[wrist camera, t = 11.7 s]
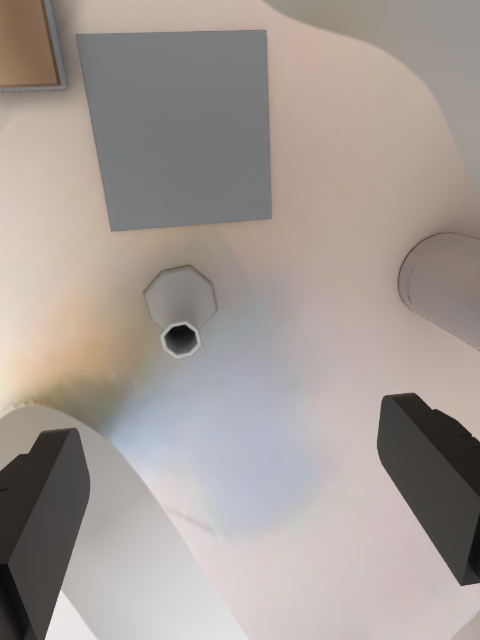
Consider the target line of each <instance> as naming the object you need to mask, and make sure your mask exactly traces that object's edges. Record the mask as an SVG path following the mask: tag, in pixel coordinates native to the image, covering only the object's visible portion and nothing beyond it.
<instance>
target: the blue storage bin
mask: <svg viewBox="0 0 480 640" xmlns="http://www.w3.org/2000/svg"><path fill="white" fill-rule="evenodd" d="M44 1H45V6H46V11H47V16H48V21H49V26H50V31H51V36H52V41H53V46H54V51H55V56H56V61H57V66H58V71H59V76H60V81H61V86H54V87H27V88H1V89H0V92H4V91H30V90H56V89H68V87H67V82H66V77H65V72H64V66H63V61H62V56H61V51H60V46H59V41H58V36H57V31H56V26H55V21H54V15H53V10H52V5H51V0H44Z"/></svg>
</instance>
